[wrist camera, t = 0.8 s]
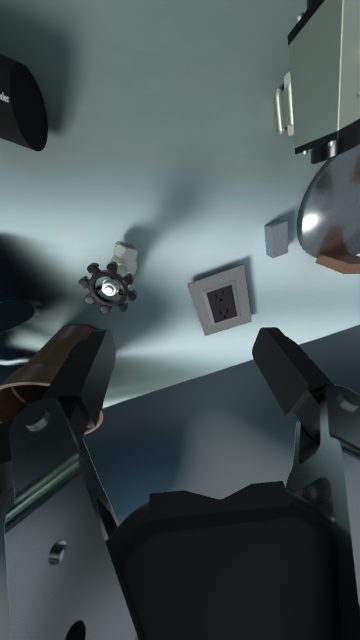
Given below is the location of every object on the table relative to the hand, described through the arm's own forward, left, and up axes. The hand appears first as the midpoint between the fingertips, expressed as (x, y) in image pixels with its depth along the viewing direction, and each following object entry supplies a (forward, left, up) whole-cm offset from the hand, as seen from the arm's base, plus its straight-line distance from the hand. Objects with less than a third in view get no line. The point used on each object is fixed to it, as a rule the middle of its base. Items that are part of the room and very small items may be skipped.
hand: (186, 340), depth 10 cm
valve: (+3, -8, -25) cm, 26 cm away
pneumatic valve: (-16, +15, -25) cm, 33 cm away
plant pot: (+22, -20, -25) cm, 38 cm away
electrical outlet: (+11, +10, -25) cm, 29 cm away
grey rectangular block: (-1, +18, -25) cm, 30 cm away
